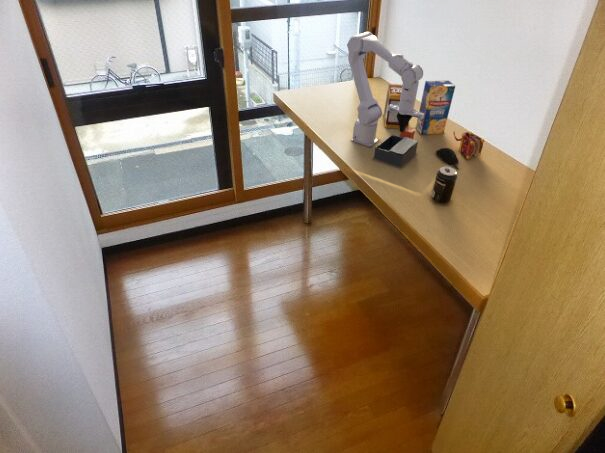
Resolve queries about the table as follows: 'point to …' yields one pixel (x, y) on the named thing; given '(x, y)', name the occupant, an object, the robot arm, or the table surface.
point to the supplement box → (392, 99)
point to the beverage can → (444, 185)
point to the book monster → (470, 144)
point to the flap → (403, 146)
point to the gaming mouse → (447, 156)
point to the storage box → (391, 157)
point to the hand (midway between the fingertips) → (402, 131)
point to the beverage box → (435, 106)
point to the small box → (408, 133)
